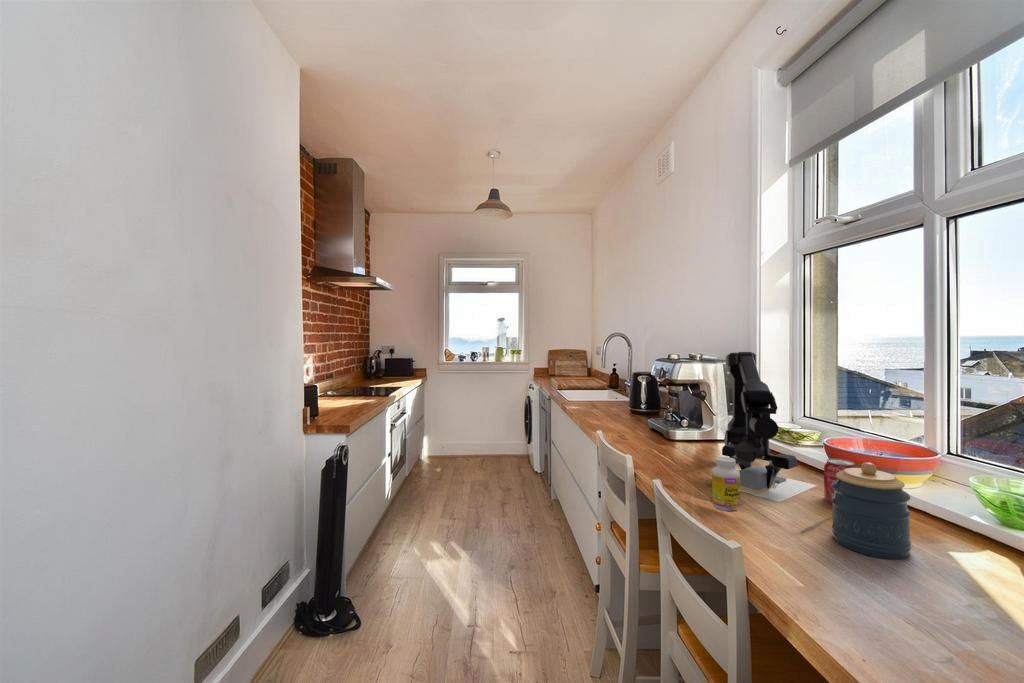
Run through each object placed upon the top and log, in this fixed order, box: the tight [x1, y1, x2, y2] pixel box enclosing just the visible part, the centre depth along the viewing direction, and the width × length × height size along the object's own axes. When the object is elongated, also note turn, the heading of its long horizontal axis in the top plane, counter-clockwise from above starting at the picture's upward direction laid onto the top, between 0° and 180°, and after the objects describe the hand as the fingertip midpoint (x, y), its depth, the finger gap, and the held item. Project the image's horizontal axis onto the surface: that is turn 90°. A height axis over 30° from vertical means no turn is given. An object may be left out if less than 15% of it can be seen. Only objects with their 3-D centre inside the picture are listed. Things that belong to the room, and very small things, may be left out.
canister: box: [831, 461, 912, 560], centre depth 92 cm, size 13×13×18 cm
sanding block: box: [738, 464, 775, 493], centre depth 124 cm, size 9×6×5 cm, turn 123°
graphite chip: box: [775, 475, 787, 484], centre depth 130 cm, size 4×4×1 cm
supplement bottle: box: [711, 456, 741, 513], centre depth 114 cm, size 7×7×13 cm
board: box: [740, 475, 818, 503], centre depth 126 cm, size 22×18×2 cm
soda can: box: [823, 458, 856, 505], centre depth 112 cm, size 7×7×12 cm
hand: (758, 485), depth 124 cm, fingers closed on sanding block, 5 cm apart
